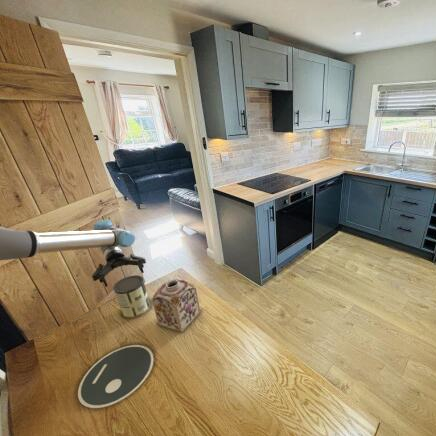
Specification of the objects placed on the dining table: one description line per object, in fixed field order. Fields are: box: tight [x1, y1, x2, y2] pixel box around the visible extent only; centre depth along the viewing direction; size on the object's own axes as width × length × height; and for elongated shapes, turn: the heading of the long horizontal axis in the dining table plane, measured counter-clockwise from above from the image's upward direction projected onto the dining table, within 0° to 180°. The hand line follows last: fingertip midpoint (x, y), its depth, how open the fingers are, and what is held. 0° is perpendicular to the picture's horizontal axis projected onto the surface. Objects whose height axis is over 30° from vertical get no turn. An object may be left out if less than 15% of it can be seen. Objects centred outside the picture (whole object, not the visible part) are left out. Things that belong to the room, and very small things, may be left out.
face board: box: [77, 344, 154, 409], centre depth 76 cm, size 20×20×1 cm
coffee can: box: [112, 274, 151, 319], centre depth 98 cm, size 10×10×14 cm
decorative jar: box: [151, 278, 201, 333], centre depth 94 cm, size 12×12×18 cm
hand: (124, 276), depth 103 cm, fingers open, 13 cm apart
